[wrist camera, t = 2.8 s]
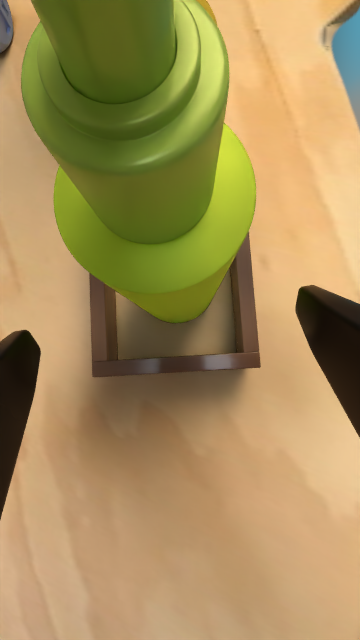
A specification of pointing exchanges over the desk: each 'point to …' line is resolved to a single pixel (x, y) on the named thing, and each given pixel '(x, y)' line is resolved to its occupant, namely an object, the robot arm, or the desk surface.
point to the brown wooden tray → (245, 357)
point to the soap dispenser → (141, 146)
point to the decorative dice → (5, 25)
